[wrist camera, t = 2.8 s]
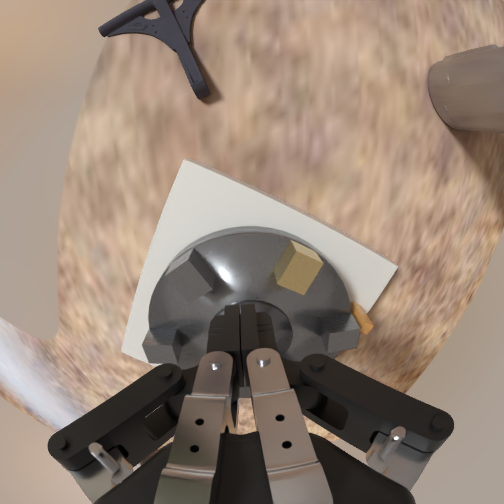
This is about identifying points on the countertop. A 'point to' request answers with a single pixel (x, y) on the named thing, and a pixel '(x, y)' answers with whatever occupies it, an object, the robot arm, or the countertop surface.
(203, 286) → the shallow round grey dish
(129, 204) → the countertop surface
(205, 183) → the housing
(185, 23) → the bracket
